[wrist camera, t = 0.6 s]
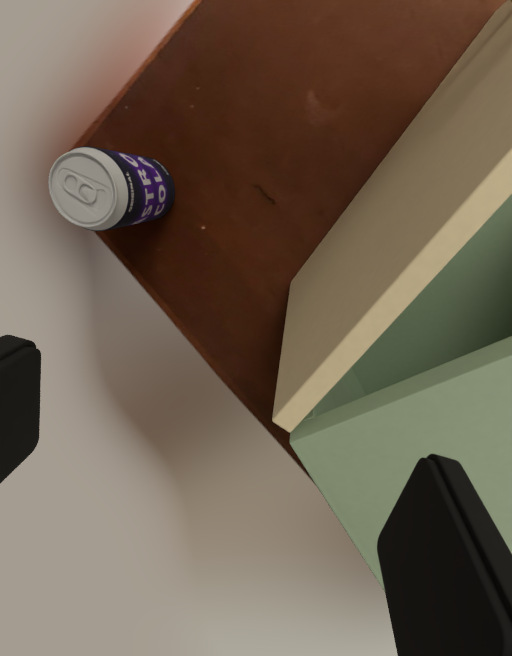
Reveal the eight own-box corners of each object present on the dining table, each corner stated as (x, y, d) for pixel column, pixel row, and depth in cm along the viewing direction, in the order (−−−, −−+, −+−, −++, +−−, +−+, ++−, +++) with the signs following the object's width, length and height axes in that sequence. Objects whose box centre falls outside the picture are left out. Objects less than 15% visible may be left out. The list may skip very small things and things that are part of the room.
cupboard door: (244, 249, 37) (155, 345, 15) (438, -40, 28) (998, -973, 5) (298, 288, 38) (290, 434, 16) (505, 19, 28) (1237, -587, 6)
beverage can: (162, 230, 38) (103, 248, 26) (113, 199, 37) (31, 204, 26) (187, 179, 36) (135, 175, 24) (136, 145, 35) (58, 126, 24)
